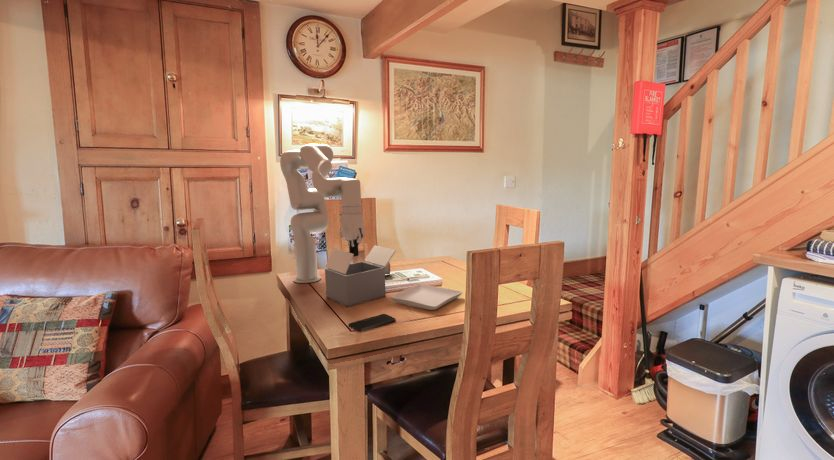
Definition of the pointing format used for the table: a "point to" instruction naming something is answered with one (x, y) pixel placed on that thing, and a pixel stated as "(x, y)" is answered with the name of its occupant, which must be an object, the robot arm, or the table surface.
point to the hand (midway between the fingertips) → (354, 255)
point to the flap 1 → (339, 261)
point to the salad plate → (425, 296)
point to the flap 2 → (380, 255)
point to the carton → (356, 284)
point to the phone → (372, 322)
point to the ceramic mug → (386, 268)
